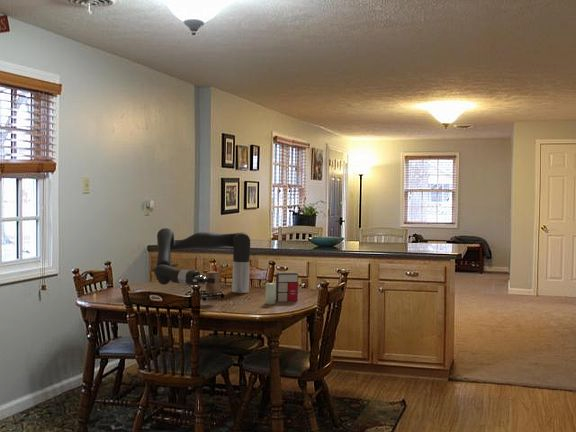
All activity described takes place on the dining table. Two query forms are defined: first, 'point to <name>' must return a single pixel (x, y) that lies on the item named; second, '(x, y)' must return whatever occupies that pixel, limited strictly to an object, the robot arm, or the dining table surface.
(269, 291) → the sage cylinder
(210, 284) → the walnut block
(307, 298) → the dining table surface
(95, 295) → the dining table surface
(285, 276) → the miniature cabinet
